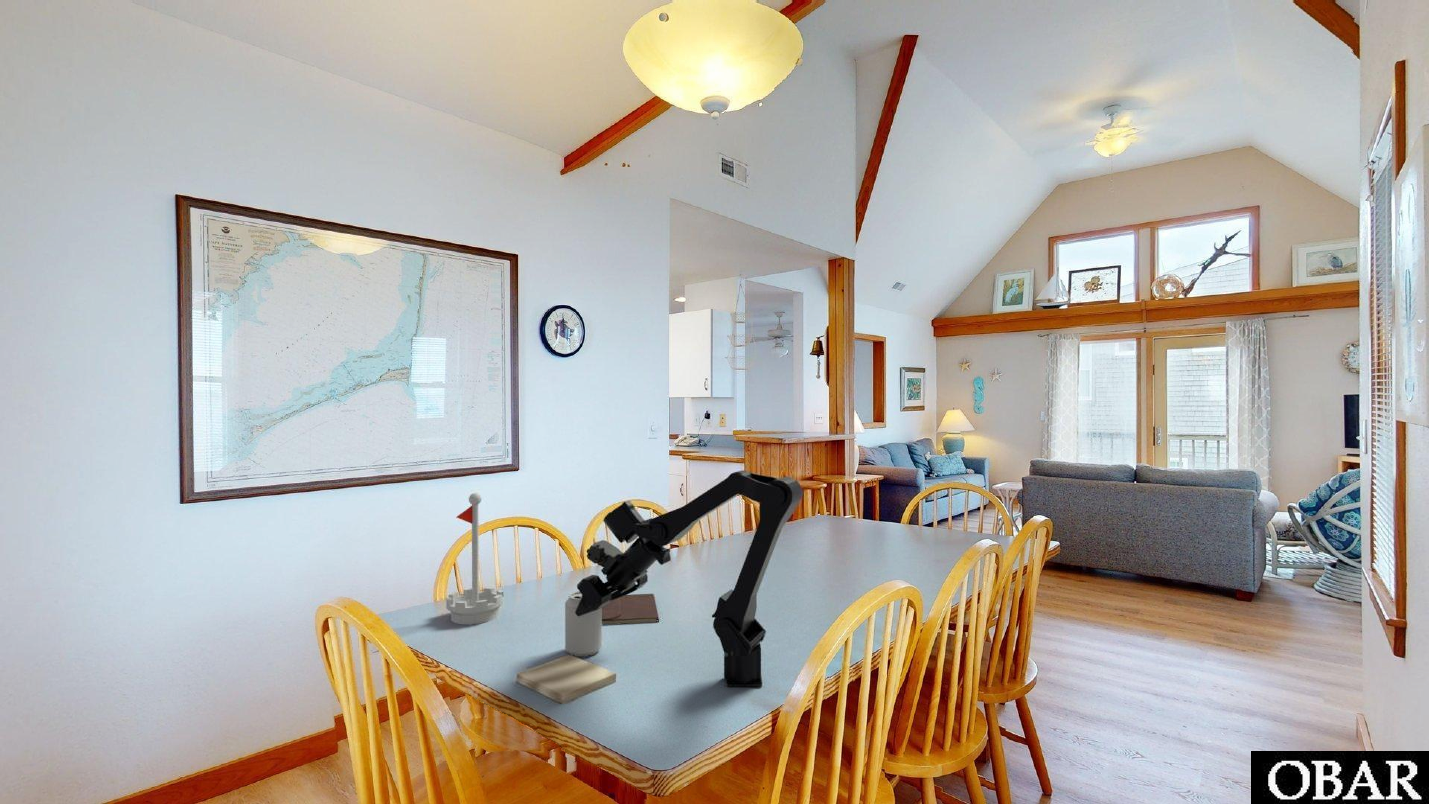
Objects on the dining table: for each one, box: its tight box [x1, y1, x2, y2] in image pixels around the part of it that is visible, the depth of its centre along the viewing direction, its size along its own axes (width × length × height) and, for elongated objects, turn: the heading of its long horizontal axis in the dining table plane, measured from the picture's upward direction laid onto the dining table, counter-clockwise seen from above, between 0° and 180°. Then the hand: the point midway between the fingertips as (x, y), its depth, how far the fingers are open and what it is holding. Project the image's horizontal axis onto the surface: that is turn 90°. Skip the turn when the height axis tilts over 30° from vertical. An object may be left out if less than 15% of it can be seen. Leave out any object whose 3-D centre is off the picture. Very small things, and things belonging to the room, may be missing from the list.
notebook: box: [602, 593, 660, 625], centre depth 165 cm, size 15×20×2 cm
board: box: [516, 654, 617, 704], centre depth 123 cm, size 14×12×2 cm
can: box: [564, 590, 603, 657], centre depth 138 cm, size 8×8×12 cm
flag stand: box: [445, 492, 505, 625], centre depth 161 cm, size 13×13×30 cm
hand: (589, 607), depth 138 cm, fingers open, 9 cm apart
